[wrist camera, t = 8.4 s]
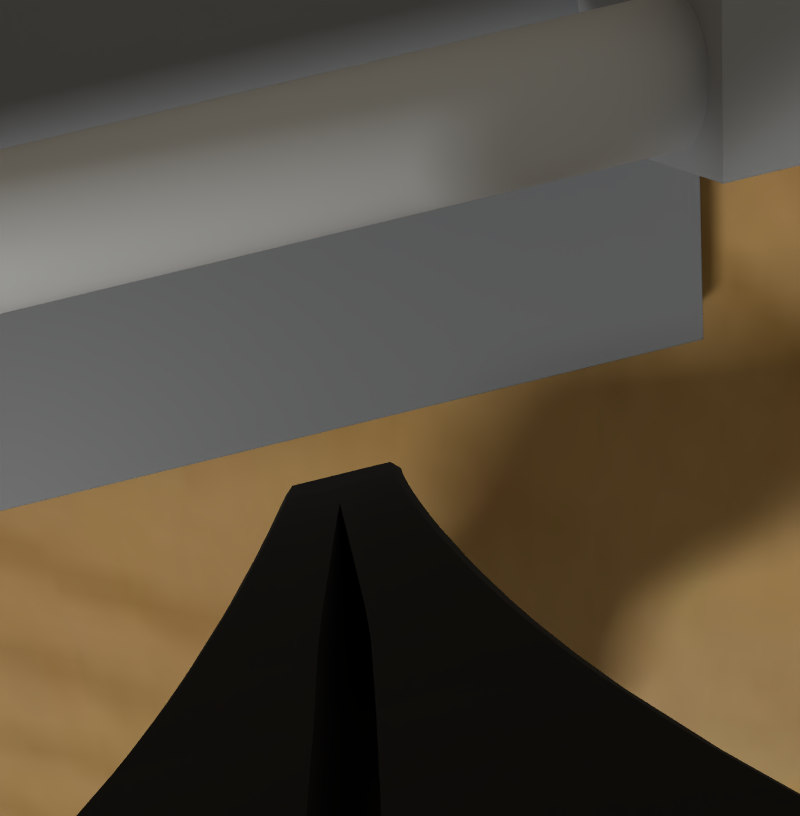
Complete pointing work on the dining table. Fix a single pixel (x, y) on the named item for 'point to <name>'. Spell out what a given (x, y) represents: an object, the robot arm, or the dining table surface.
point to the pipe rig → (350, 208)
